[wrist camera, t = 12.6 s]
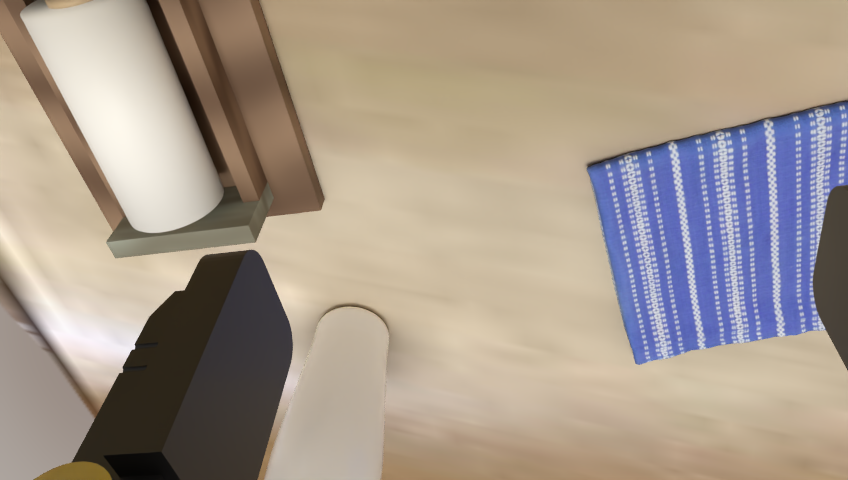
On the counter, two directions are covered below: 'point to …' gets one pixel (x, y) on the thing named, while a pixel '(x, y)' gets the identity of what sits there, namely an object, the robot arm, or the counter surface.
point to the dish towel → (721, 231)
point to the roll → (128, 107)
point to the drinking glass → (337, 403)
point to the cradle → (201, 122)
